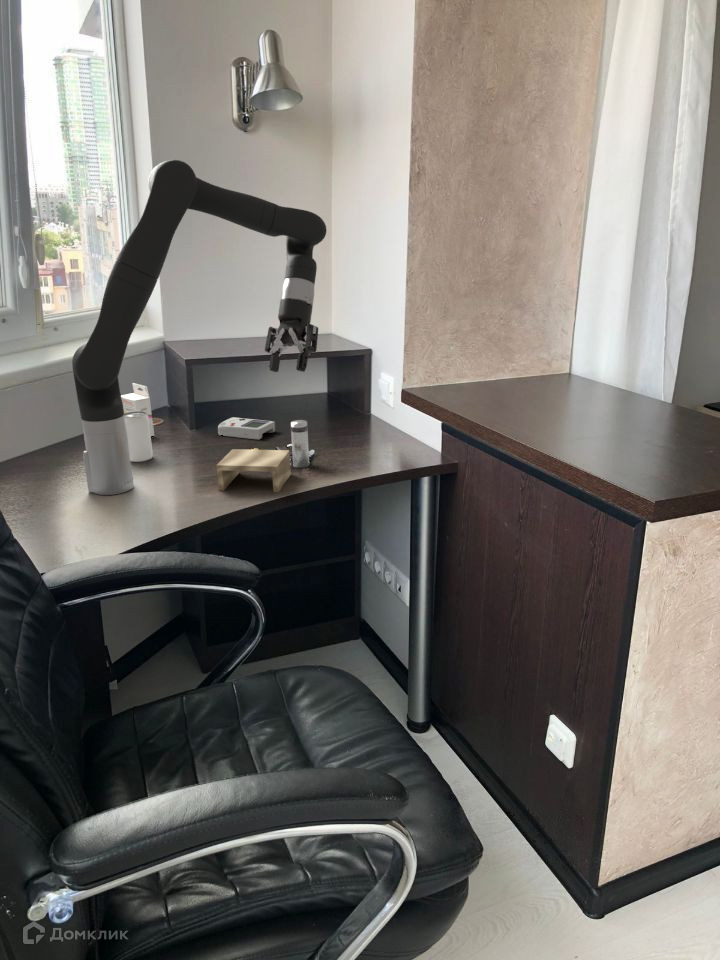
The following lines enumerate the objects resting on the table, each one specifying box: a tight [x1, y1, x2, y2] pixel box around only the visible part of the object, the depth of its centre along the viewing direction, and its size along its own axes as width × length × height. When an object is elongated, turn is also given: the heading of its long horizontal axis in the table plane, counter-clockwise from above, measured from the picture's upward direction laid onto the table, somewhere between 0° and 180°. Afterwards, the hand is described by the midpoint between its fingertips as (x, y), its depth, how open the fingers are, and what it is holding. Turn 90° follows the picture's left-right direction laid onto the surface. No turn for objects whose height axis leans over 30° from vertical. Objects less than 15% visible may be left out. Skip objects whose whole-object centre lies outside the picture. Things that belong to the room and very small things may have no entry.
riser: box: [216, 448, 292, 493], centre depth 175 cm, size 14×12×6 cm
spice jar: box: [290, 419, 310, 469], centre depth 185 cm, size 4×4×11 cm
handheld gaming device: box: [217, 416, 276, 441], centre depth 214 cm, size 9×14×4 cm, turn 66°
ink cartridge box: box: [121, 382, 155, 437], centre depth 213 cm, size 9×5×15 cm, turn 47°
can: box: [124, 411, 154, 463], centre depth 193 cm, size 6×6×12 cm
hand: (287, 371), depth 173 cm, fingers open, 8 cm apart
